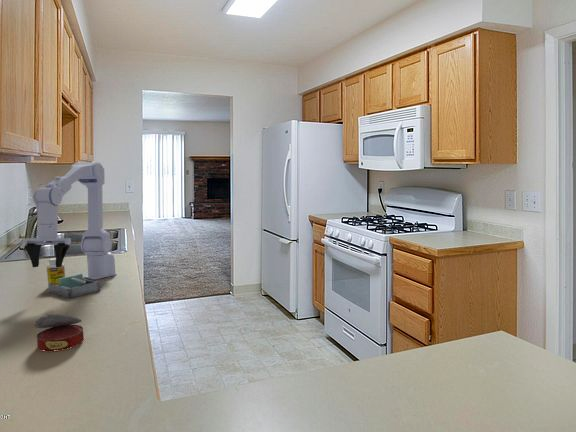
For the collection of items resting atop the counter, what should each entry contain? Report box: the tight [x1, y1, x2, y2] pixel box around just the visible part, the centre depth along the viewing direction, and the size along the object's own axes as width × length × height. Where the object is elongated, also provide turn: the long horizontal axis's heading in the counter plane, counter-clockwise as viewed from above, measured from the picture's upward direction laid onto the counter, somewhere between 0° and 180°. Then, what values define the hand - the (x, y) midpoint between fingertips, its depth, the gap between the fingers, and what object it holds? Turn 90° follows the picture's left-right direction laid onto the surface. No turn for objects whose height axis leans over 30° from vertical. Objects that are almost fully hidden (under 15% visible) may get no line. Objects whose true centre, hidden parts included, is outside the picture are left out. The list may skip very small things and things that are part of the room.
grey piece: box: [47, 277, 101, 299], centre depth 151 cm, size 11×14×3 cm
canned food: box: [34, 314, 85, 351], centre depth 105 cm, size 11×10×10 cm
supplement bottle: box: [46, 257, 66, 288], centre depth 158 cm, size 6×6×10 cm
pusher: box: [59, 273, 86, 288], centre depth 150 cm, size 8×9×5 cm
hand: (47, 267), depth 142 cm, fingers open, 7 cm apart
